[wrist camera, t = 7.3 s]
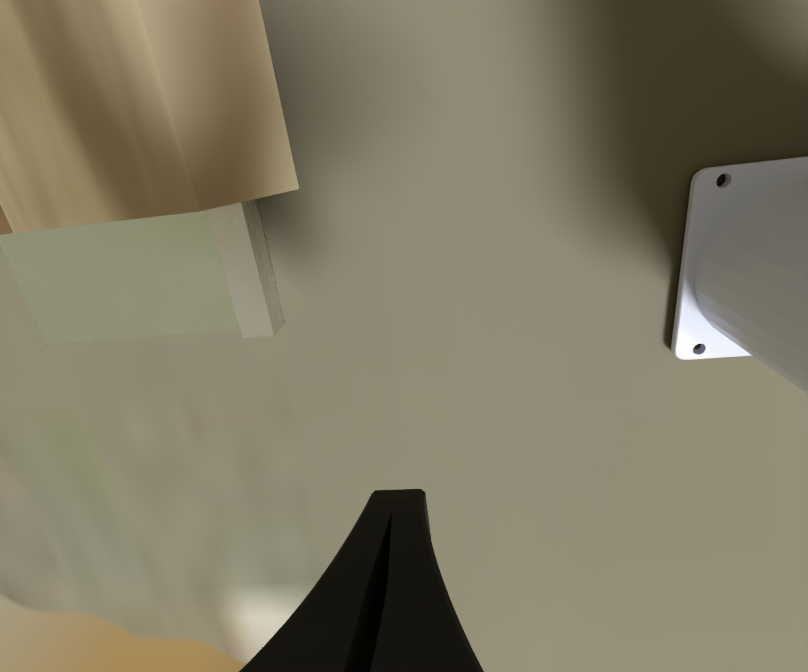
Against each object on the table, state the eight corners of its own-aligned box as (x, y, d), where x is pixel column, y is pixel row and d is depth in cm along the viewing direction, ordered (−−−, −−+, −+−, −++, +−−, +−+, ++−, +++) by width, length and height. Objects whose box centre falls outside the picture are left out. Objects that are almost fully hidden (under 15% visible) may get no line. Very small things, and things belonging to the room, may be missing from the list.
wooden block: (80, -189, 9) (-138, -55, 12) (199, 211, 12) (-2, 234, 15) (239, -90, 13) (46, -9, 17) (299, 189, 16) (125, 211, 20)
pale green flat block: (143, -277, 14) (111, -323, 13) (284, 323, 22) (274, 335, 20) (-191, -187, 16) (-253, -219, 14) (50, 342, 23) (25, 355, 22)
